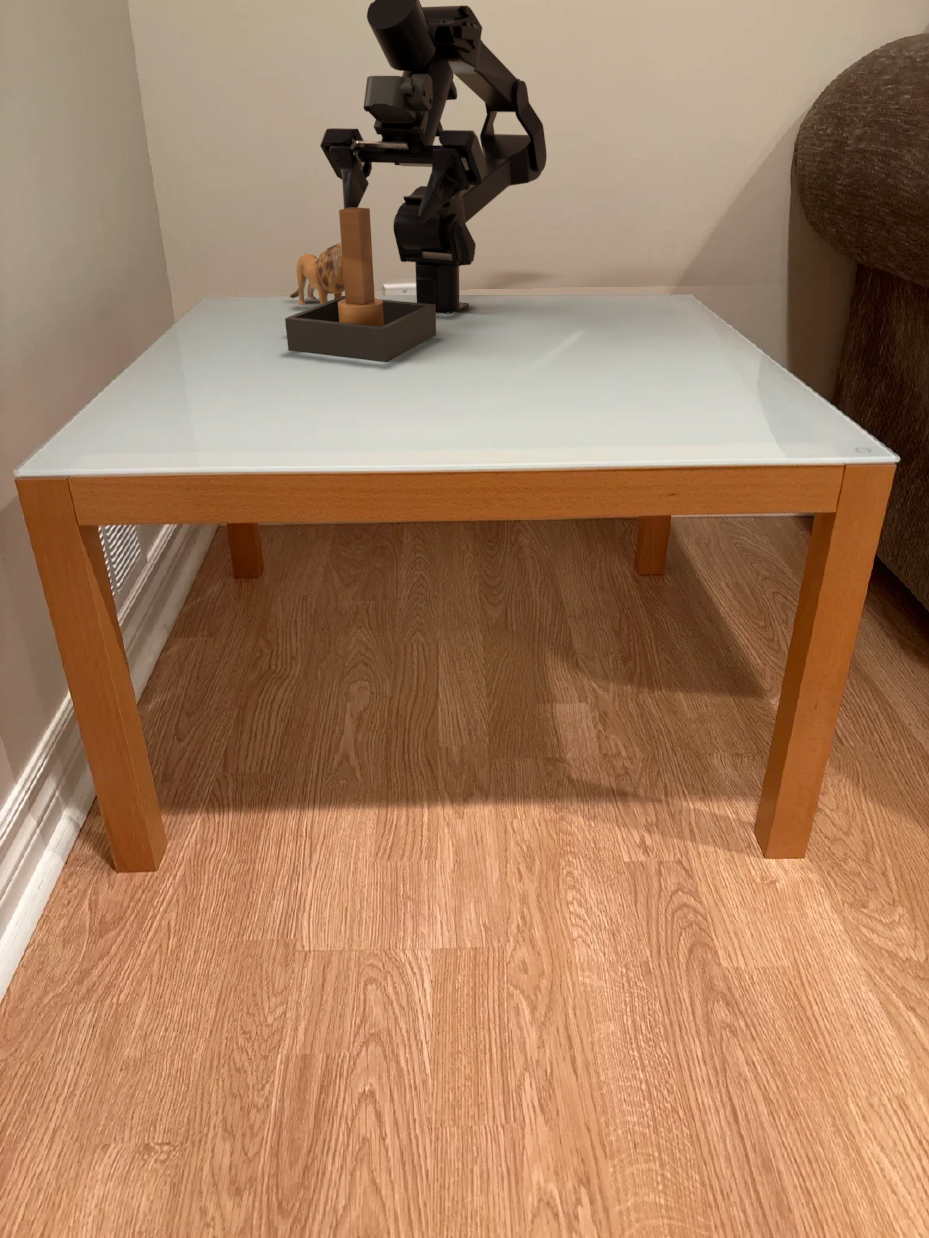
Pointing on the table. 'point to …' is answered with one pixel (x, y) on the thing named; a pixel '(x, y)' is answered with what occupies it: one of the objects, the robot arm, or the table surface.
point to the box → (361, 331)
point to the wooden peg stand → (358, 270)
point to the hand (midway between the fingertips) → (383, 219)
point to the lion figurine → (321, 274)
